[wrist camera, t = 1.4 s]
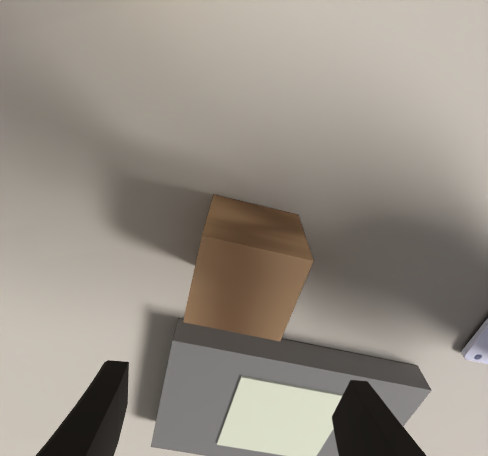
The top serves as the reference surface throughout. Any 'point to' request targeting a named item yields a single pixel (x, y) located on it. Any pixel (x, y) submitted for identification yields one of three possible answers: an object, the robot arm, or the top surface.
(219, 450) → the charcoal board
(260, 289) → the walnut cube
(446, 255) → the top surface
